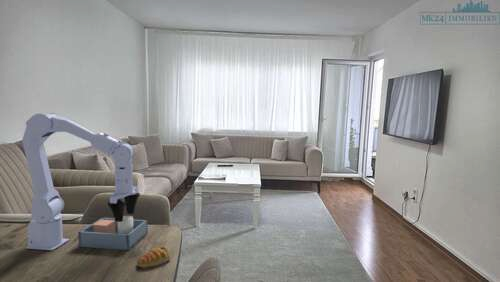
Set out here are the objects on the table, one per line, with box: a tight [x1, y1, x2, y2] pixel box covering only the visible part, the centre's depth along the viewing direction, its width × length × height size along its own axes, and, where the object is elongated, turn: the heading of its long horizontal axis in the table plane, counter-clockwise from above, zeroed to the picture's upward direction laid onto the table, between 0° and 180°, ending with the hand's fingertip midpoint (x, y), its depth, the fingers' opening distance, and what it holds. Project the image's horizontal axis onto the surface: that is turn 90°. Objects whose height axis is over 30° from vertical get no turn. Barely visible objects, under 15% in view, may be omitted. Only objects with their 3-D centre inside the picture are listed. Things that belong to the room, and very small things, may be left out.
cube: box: [93, 220, 115, 234], centre depth 107 cm, size 5×5×5 cm
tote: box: [77, 217, 149, 251], centre depth 107 cm, size 18×14×5 cm
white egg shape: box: [118, 215, 134, 234], centre depth 106 cm, size 5×5×7 cm
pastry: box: [136, 245, 171, 269], centre depth 92 cm, size 9×7×4 cm
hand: (124, 217), depth 106 cm, fingers open, 7 cm apart
